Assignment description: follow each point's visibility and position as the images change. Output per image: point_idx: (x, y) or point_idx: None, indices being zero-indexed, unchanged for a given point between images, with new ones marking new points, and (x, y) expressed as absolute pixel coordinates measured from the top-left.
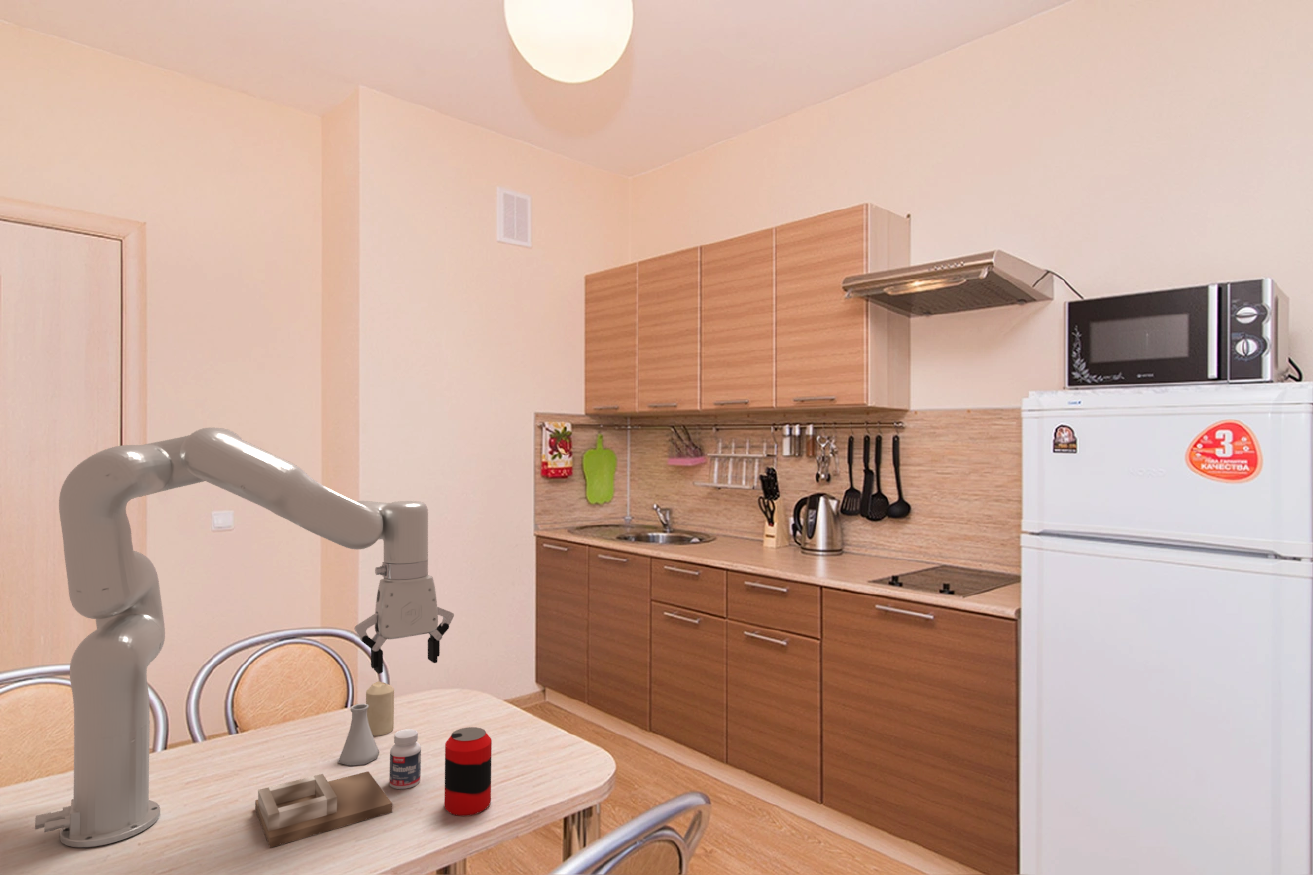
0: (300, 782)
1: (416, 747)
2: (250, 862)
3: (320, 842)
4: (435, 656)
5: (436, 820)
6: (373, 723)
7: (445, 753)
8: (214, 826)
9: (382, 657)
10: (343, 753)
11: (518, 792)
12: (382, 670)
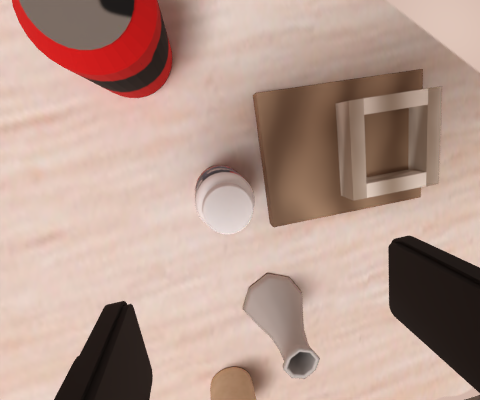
0: (386, 182)
1: (206, 186)
2: (435, 44)
3: (355, 52)
4: (107, 324)
5: (191, 27)
6: (246, 385)
7: (159, 17)
8: (454, 168)
9: (460, 278)
10: (299, 298)
11: (25, 56)
12: (397, 244)
